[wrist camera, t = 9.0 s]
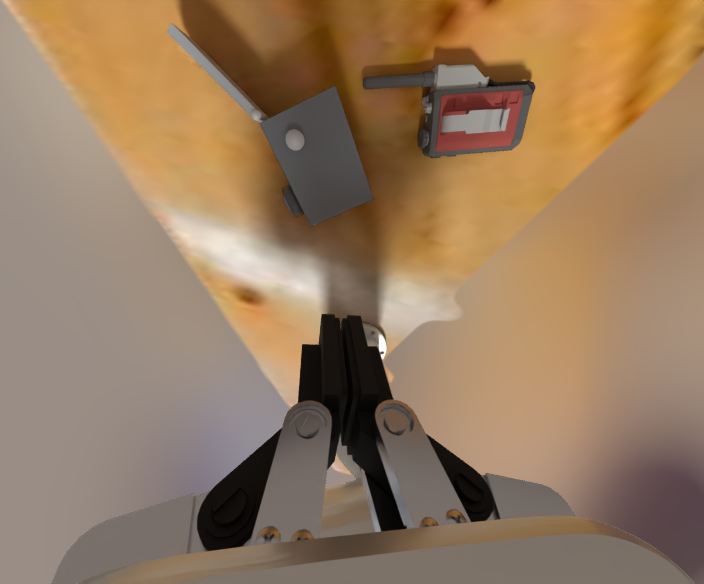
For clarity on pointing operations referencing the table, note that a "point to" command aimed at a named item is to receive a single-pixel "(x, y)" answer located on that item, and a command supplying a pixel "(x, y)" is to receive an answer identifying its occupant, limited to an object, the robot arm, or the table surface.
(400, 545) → the robot arm
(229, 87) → the side door
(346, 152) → the camera body
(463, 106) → the walkie-talkie
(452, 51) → the table surface
